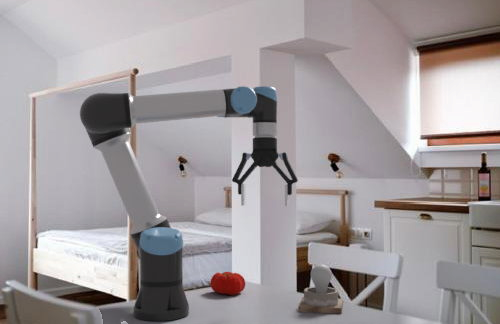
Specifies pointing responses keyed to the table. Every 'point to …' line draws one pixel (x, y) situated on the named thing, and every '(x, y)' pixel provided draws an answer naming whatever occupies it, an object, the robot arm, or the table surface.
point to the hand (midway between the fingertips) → (264, 205)
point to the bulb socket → (321, 301)
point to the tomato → (227, 283)
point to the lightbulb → (321, 277)
